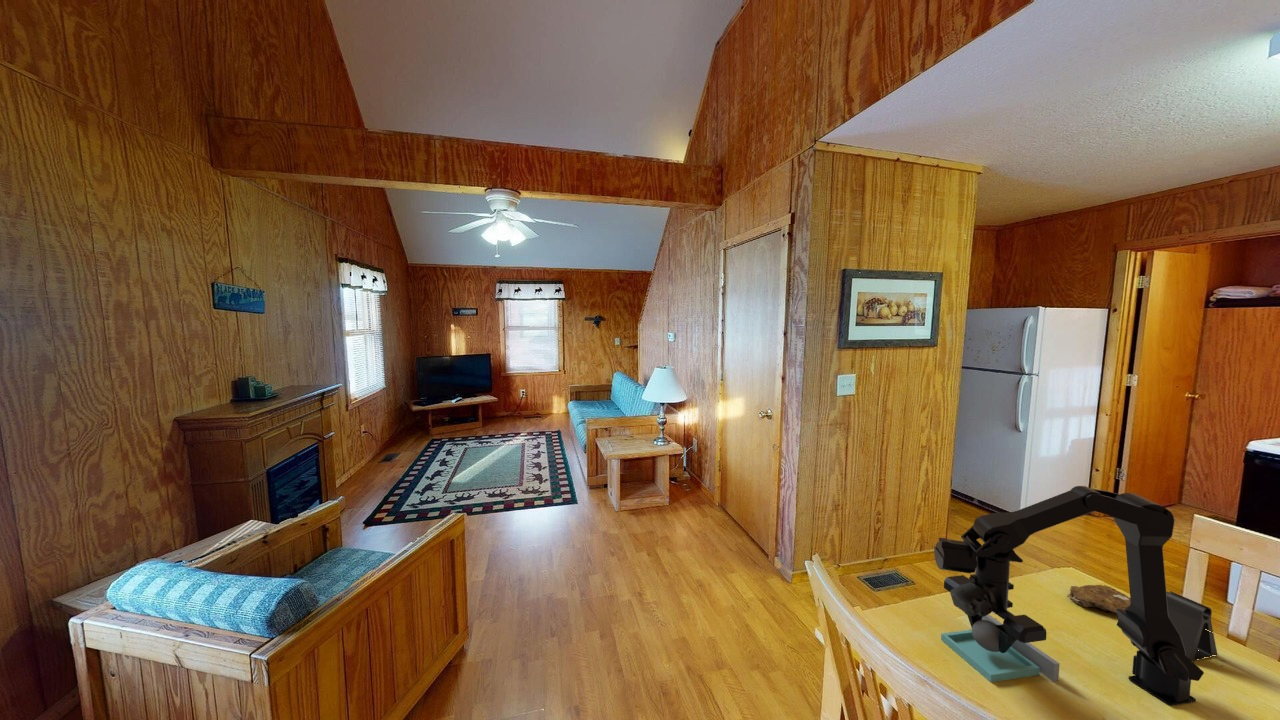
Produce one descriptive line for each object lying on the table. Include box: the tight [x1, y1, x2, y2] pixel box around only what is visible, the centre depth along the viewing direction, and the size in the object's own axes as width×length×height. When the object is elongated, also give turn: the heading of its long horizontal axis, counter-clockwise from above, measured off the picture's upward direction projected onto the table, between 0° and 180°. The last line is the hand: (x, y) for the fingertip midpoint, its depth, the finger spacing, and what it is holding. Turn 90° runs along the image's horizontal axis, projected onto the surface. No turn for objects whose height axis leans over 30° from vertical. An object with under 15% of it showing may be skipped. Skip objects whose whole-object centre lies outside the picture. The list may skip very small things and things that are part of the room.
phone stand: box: [1166, 590, 1218, 662], centre depth 94 cm, size 9×6×12 cm, turn 100°
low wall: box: [982, 614, 1061, 683], centre depth 95 cm, size 18×1×4 cm, turn 8°
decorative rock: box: [1066, 584, 1131, 614], centre depth 110 cm, size 11×4×15 cm
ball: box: [971, 620, 1000, 652], centre depth 93 cm, size 6×6×6 cm
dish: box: [940, 629, 1040, 683], centre depth 93 cm, size 12×12×2 cm
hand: (988, 641), depth 93 cm, fingers closed on ball, 6 cm apart
